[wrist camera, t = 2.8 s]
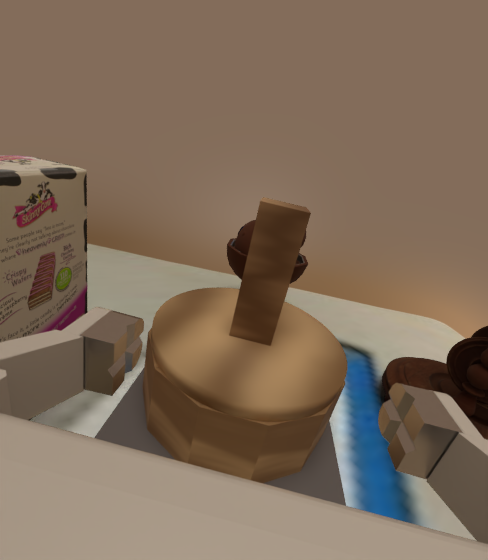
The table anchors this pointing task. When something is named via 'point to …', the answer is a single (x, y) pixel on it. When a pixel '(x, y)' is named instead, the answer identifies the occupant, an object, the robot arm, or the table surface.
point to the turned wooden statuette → (450, 377)
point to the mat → (309, 481)
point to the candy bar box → (41, 246)
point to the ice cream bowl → (240, 249)
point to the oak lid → (244, 364)
